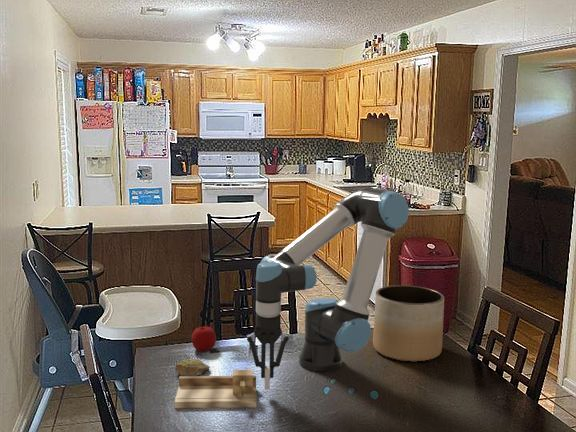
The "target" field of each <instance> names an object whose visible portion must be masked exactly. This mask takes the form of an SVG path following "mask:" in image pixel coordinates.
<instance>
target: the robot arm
mask: <svg viewBox="0 0 576 432" xmlns="http://www.w3.org/2000/svg"><path fill="white" fill-rule="evenodd" d="M409 213H410V210H409V204H408V202H407V200H406V198H405V196H403V194H401V193H400V192H396V191H393V190H389V189H388V190H387V189H379V188H373V187H363V188H360V189H357V190H355V191H353V192H352V193H349V194H348V195H347V196H345V197H344V198H342V199H340V201H338V202H337V203H336V204H335V205H334V207H333V209H332V210H331V211H330V212H329V213H327V214H326V215H325V216H324V217H323V218H321V219H320V220H319V221H317V222H316V223H315V224H314V225H313V226H311V227H310V228H309V229H307V230H306V231H305V232H304V233H302V234H301V235H300V236H298V237H297V238H296V239H295V240H293V241H292V242H290V244H288V245H287V246H286V247H284V248H282V249H281V250H280V252H278V253H276V254H275V255H273V254H272V255H266V256H264V257H263V258H262V259H261V261H260V262H259V263H258V264H257V267H256V271H255V272H256V274H255V313H256V314H255V328H254V330H253V332H252V333H250V334H247V335H246V340H247V342H248V343H249V345H250V349H251V352H252V358H253V362H254V364H255V367H257V368H260V377H261V379H264V390H270V387H271V385H270V384H271V379H273V378H274V376H275V375H274V372H275V371H274V369H275V368H277V367H280V365H281V362H282V360H283V359H282V358H283V355H284V350H285V347H286V344H287V343H288V341H289V340H290V338H289V337H290V336H289V334H287V333H284V332H283V331H282V328H281V323H282V322H281V319H282V317H281V316H282V315H281V311H282V304H281V303H282V294H284V293H291V292H298V291H306V290H311V289H312V288H314V287H315V286H316V284H317V282H318V281H317V272H316V270H315V268H314V267H313V266H312V265H310V264H303V263H304V262H306V260H307V259H309V258H310V257H311V256H313V255H314V254H315V253H317V252H318V251H319V250H320V249H321V248H323V247H324V246H325V245H326V244H328V243H329V242H330V241H332V240H333V239H334V238H335V237H337V236H338V235H339V234H340V233H341V232H343V231H344V230H345V229H346V228H348V227H349V228H353V227H354V226H355V225H356V224H358V223H360V226H361V228H362V229H363V232H362V235H361V238H360V242H359V244H358V248H357V251H356V254H355V257H354V260H353V263H352V266H351V269H350V273H349V276H348V279H347V282H346V284H345V289H344V291H343V295H342V297H341V299H340V300H338V299H336V298H329V297H328V298H327V297H324V298H323V297H320V298H313V299H310V300H308V301H306V304H305V309H304V342H303V344H302V348H301V350H300V352H299V356H298V358H299V359H298V362H299V365H300V366H301V367H302V368H304V369H306V370H310V371H313V372H314V371H315V372H332V371H335V370H338V369H340V368H341V367H342V364H343V356H342V352H341V350H344V351H346V352H351V353H352V352H358V351H359V350H361V349H363V348H364V347H365V346H366V345H367V344H368V343H369V341H370V338H371V336H372V327H371V324H370V322H369V321H368V320H369V317H370V312H369V309H368V305H369V302H370V299H371V295H372V292H373V290H374V286H375V282H376V280H377V278H378V277H377V276H378V273H379V270H380V267H381V265H382V260H383V258H384V254H385V251H386V248H387V244H388V241H389V239H390V238H392V237H394V236H395V235H396V231H397V229H400V228H402V227H403V226H404V225H405V224H406V223H407V222H408V218H409ZM301 264H302V265H301ZM279 338H280V344H279V347H278V351H277V355H276V358H275V343H276V342H277V341H278V340H279ZM256 339H257V340H258V341H259V343H260V345H261V350H260V351H261V353H260V354H261V356H260V358H261V359H259V355H258V349H257V347H256V343H255V341H256ZM268 344H269V365H266V353H267V352H266V349H267V348H266V345H268Z"/></svg>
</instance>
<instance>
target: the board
mask: <svg viewBox="0 0 576 432" xmlns="http://www.w3.org/2000/svg"><path fill="white" fill-rule="evenodd" d="M215 408H216V409H219V408H222V409H223V408H225V409H226V408H227V409H228V408H229V409H231V408H237V409H238V408H257V375H253V394H243V396H242V394H233V375H197V376H182V375H179V377H178V388H177V391H176V396H175V399H174V409H215Z"/></svg>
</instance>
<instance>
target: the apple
mask: <svg viewBox="0 0 576 432" xmlns="http://www.w3.org/2000/svg"><path fill="white" fill-rule="evenodd" d="M216 342H217V336H216V331H215V330H214V329H213V328H212V327H210V326H203V325H202V324H200V326H199V327H197V328H195V330H194V331H193V332H192V334H191V344H192V346H193V347H194V349H195V350H196V351H198V352H200V353H203V352H209V351H211V350H212V349H213V348H214V347H215V346H216Z"/></svg>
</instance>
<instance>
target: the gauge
mask: <svg viewBox="0 0 576 432" xmlns="http://www.w3.org/2000/svg"><path fill="white" fill-rule="evenodd" d="M253 371H254V370H253V369H232V376H233V394H242V396H243V394H253V376H254V373H253Z"/></svg>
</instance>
